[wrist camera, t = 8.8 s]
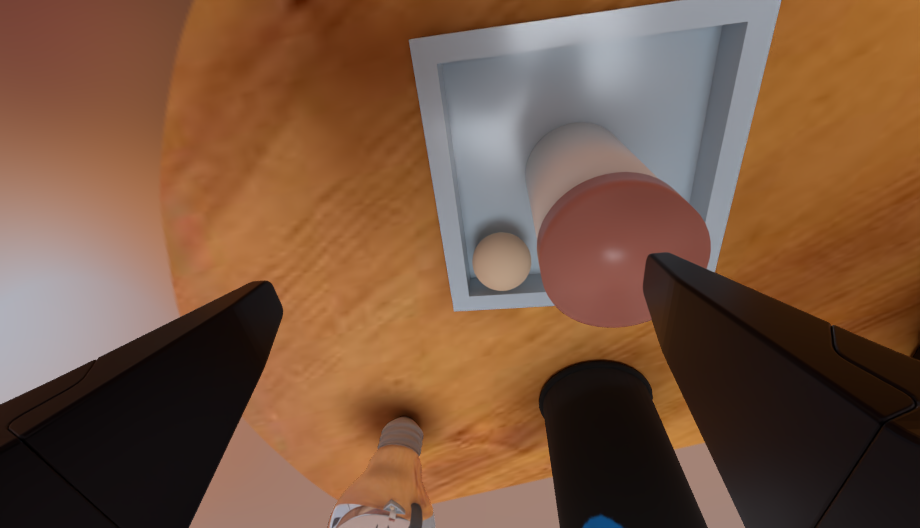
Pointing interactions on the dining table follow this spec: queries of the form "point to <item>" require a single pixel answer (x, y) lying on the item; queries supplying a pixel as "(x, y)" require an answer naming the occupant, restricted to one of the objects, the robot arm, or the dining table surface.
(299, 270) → the dining table surface
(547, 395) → the aerosol can
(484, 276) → the cork ball
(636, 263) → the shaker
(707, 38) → the dish
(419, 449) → the light bulb
